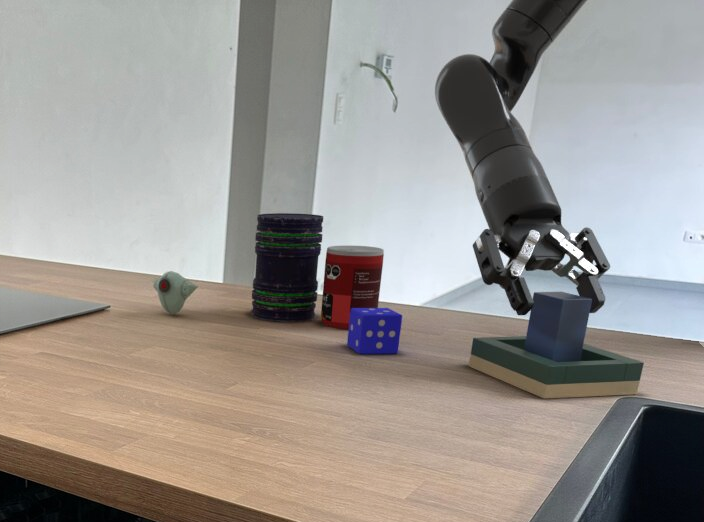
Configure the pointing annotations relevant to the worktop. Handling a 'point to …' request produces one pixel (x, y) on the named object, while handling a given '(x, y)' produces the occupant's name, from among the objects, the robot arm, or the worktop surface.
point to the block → (557, 326)
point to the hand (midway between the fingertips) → (562, 310)
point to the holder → (556, 369)
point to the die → (374, 330)
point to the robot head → (173, 291)
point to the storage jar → (286, 266)
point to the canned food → (350, 282)
